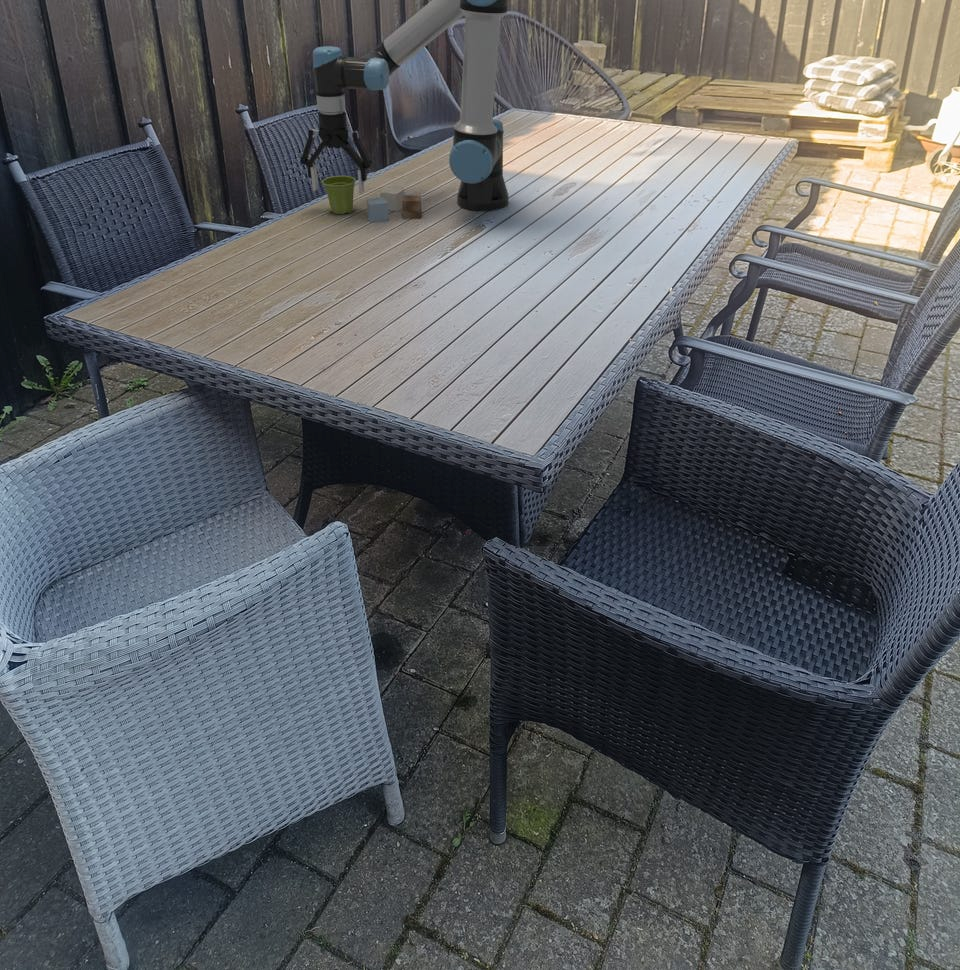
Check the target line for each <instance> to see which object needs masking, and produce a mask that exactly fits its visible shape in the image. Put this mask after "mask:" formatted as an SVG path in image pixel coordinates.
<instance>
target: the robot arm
mask: <svg viewBox="0 0 960 970" xmlns="http://www.w3.org/2000/svg"><path fill="white" fill-rule="evenodd" d="M508 1H509V0H430V1H429V2H428V3H427V4H426V5H424V6H422V8H421V9H420V10H419V11H417V12H415V14H414V15H413V16H411V17H409V19H408V20H407V21H406V22H404V23H403V24H402V25H401V26H399V27H398V28H397V29H395V31H393V32H392V33H391V34H390V35H389V36H388V37H386V38H385V39H383V41H381V42H380V43H379V44H377V46H375V47H374V48H373V49H371V50H370V51H368V52H367V53H366V54H364V55H362V56H361V57H360V56H359V57H357V56H355V57H354V56H344V55H343V53H342V49H341V47H339V46H338V47H337V46H333V45H332V46H330V45H329V46H328V45H326V46H319V47H316V48H315V49H313V51H312V62H313V64H312V65H313V66H312V69H313V74H314V75H313V76H314V85H315V95H316V108H317V111H318V113H317V118H318V128H319V130H318V129H315V128H314V127H311V128H310V129H309V130H308V131H307V132H308V133H307V135H308V137H307V141H306V144H305V147H304V150H303V152H302V155H301V157H300V159H299V164H301V165H305V166H306V168H307V177H308V179H311V184H312V185H311V186H312V191H313V192H316V191H318V189H319V181H318V172H317V171H318V170H317V169H318V168H317V164H314V163H315V162H316V161H317V159H318V158H319V157H320V155H321V153H323V150H324V149H325V148H326V147H327V148H328V149H333V148H334V149H341V148H342V149H343V151H344V152H346V153H347V155H348V157H350V159H351V160H353V162H354V163H355V164H356V165H357V167H358V169H357V181H358V182H357V183H358V193H359V195H363V193H364V192H365V184H364V183H365V182H366V181H367V179H368V178H367V177H368V175H367V169H370V168H371V167H372V166H373V161H372V159H371V158H370V157H371V156H370V155H369V153H368V152H367V149H366V147H365V146H364V144H363V142H362V140H361V136H360V131H359V130H355V131H349V129H348V121H347V120H348V119H347V113H346V111H345V110H346V96H345V95H346V94H345V89H347V90H348V89H354V90H368V91H369V90H370V91H374V92H375V91H384V90H386V88H388V84H389V80H390V77H391V76H392V74H394V72H395V71H397V70H398V69H399V68H400V67H401V66H403V64H405V63H406V62H407V61H409V60H410V59H411V58H413V56H415V55H416V54H418V52H421V50H422V49H424V48H425V47H426V46H427V45H429V44H430V43H431V42H432V41H434V40H435V39H436V38H437V37H438V36H440V35H441V34H443V33H444V32H445V31H446V30H448V29H449V28H450V27H451V26H452V25H454V23H456V22H457V21H459V20H460V19H461V18H462V17H465V20H464V21H465V23H464V37H463V38H464V39H463V56H462V57H463V59H462V60H463V61H462V74H461V75H462V76H461V77H462V79H461V95H460V111H459V113H460V116H459V120H458V121H457V122H456V123H454V126H453V135H452V136H453V137H452V138H453V140H452V147H451V150H450V153H449V155H448V156H449V159H448V160H449V162H448V163H449V167H450V170H451V172H452V174H453V175H454V176H455V177H456V178H457V179H458V180H459V181H460V184H459V188H458V191H457V194H456V204H457V205H458V206H459V207H460V208H463V209H467V210H472V211H493V210H498V209H503V208H505V207H506V206H508V204H509V200H510V199H509V192H508V189H507V185H506V182H505V179H504V171H503V170H504V164H503V161H504V160H503V159H504V134H505V133H504V131H505V130H504V124H503V122H502V121H501V120H498V119H494V108H495V107H494V106H495V105H494V104H495V94H496V93H495V91H496V80H497V67H498V53H499V40H500V39H499V38H500V25H501V24H500V23H501V20H502V19H503V18H504V17H505V16H506V15H507V13H508V3H509V2H508ZM317 137H319V139H320V140H321V142H320V143H319V145H318V147H317V149H316V150H315V151H314V152H313V154H312V155H311V157H310V158H309V156H310V153H311V150H312V148H313V145H314V143H315V140H316V138H317ZM349 138H350V139H351V141H353V143H354V145H355V148H356V149H357V151H358V153H359V154H358V153H357V151H355V149H354V148H353V146H352V145H351V143H350V142H349V140H348V139H349ZM308 158H309V159H308Z"/></svg>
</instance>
